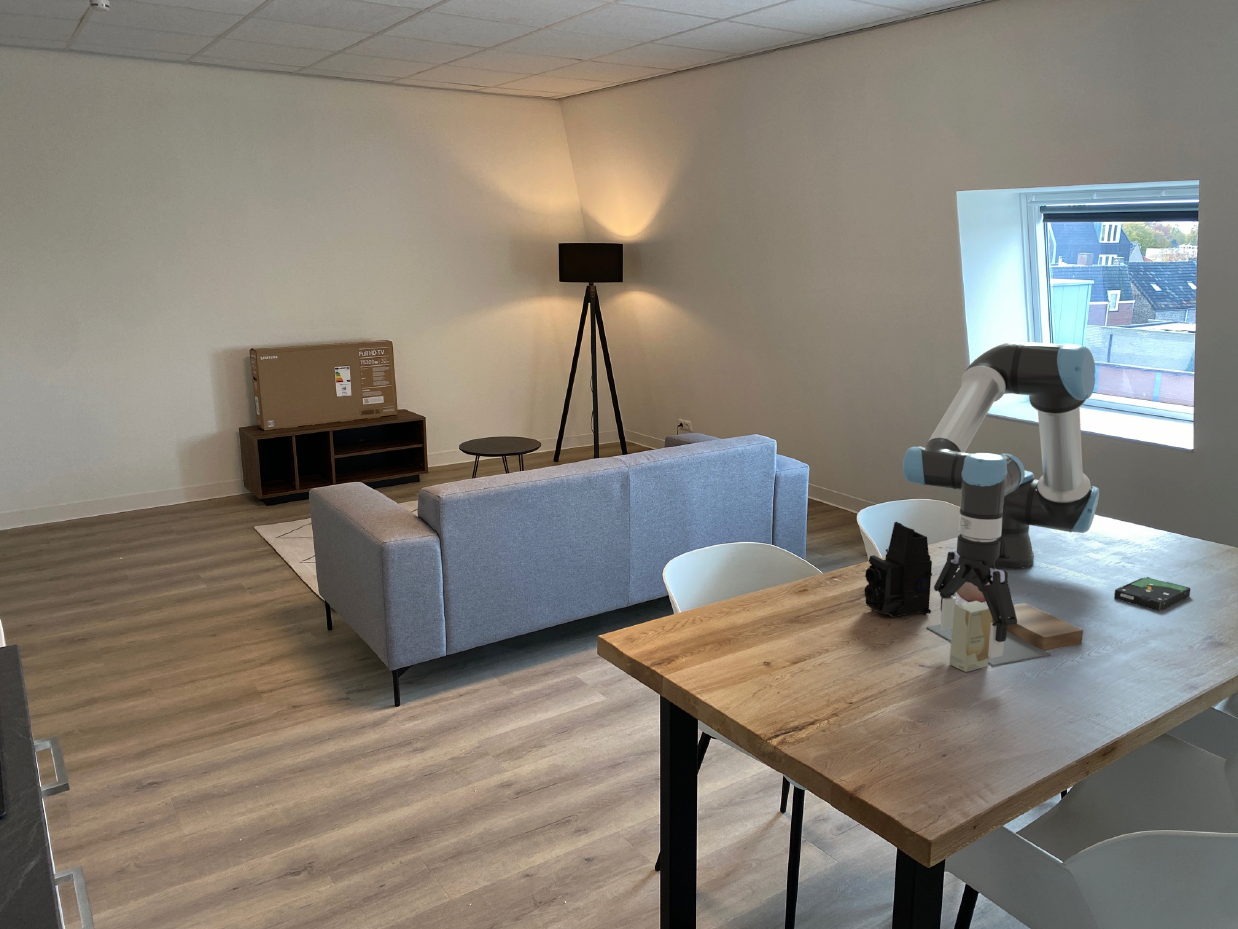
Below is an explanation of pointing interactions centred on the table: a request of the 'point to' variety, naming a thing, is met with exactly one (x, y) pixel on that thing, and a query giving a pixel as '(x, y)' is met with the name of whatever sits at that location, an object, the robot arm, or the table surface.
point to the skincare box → (970, 636)
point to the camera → (900, 575)
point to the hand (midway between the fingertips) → (970, 642)
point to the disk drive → (1152, 593)
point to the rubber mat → (1004, 648)
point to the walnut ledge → (1043, 628)
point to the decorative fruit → (971, 592)
